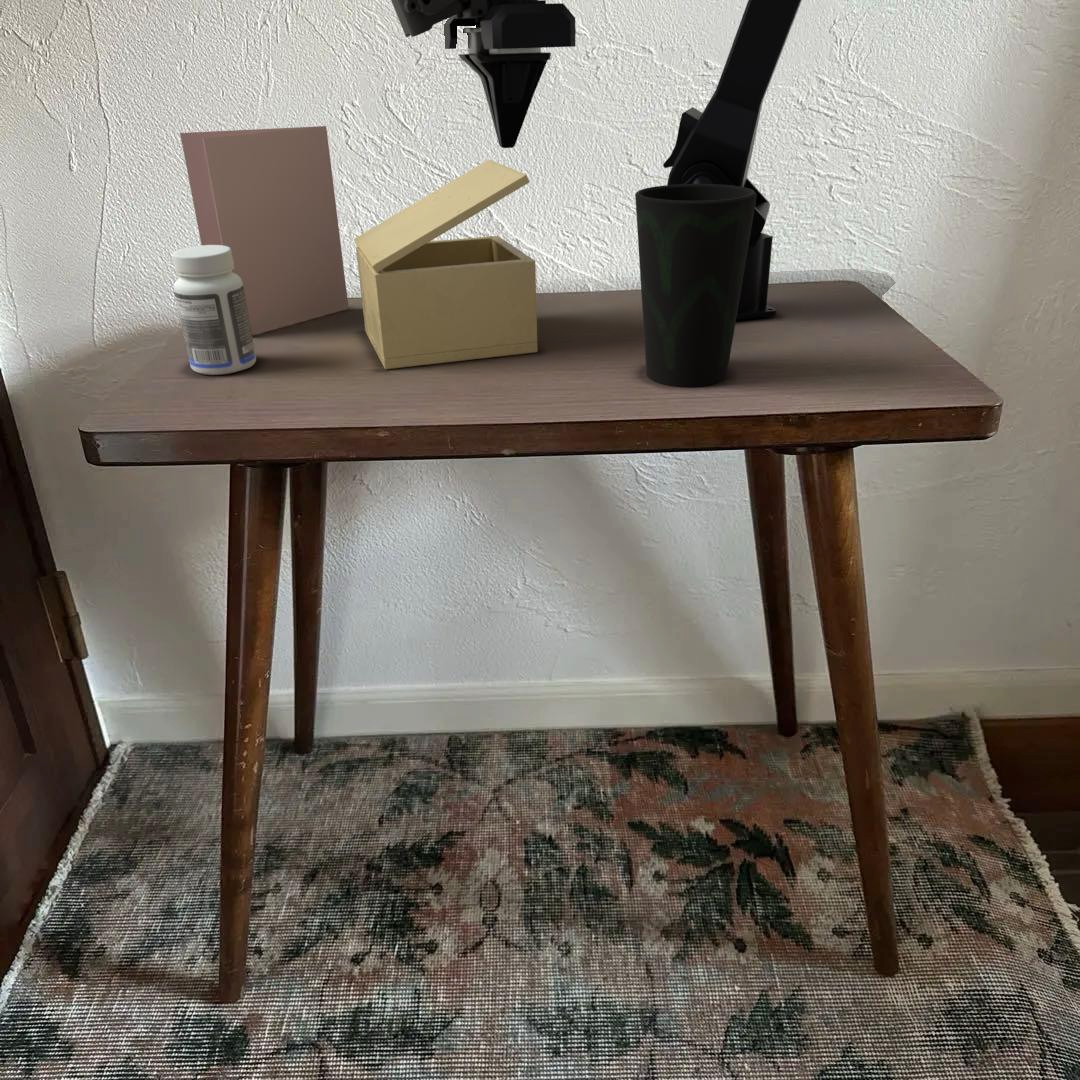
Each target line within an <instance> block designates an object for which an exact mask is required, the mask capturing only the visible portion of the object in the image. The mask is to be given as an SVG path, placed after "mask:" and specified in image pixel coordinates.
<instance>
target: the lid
mask: <svg viewBox="0 0 1080 1080" xmlns="http://www.w3.org/2000/svg"><path fill="white" fill-rule="evenodd" d="M529 179H530V178H529V177H528V175H527V174H526V173H524V172H521V171H518V170H516V169H514V168H511V167H508V166H506V165H504V164H502V163H499V162H496V161H494V160H491V159H486V160H485V161H483V162H481V163H480V164H478V165H476V166H475V167H473V168H471V169H470V170H468V171H465V172H464V173H463V174H461V175H459V176H458V177H456V178H454V179H452V180H450V181H449V182H448V183H446V184H444V185H443V186H441V187H439V188H437V189H436V190H434V191H432V192H431V193H429V194H427V195H426V196H424V197H422V198H420V199H419V200H417V201H415V202H414V203H412V204H410V205H409V206H407V207H405V208H403V209H402V210H400V211H399V212H397V213H395V214H393V215H392V216H390V217H388V218H386V219H385V220H383V221H382V222H380V223H377V224H376V225H375V226H373V227H371V228H369V229H368V230H366V231H365V232H363V233H361V234H359V235H357V237H354V238H353V241H354V243H355V245H356V247H358V248H359V249H360V250H361V252H362V253H363V255H364V256H365V258H366V259H367V260H368V262H369V263H370V265H371V266H372V268H373V269H374V270H375V272H376V273H377V272H379V271H381V270H382V269H384V268H386V267H387V266H389V265H391V264H393V263H394V262H396V261H398V260H399V259H401V258H403V257H404V256H406V255H408V254H409V253H411V252H413V251H414V250H416V249H418V248H420V247H421V246H423V245H425V244H426V243H428V242H430V241H434V239H436V238H438V237H440V236H441V235H443V234H445V233H446V232H448V231H450V230H451V229H453V228H455V227H457V226H458V225H460V224H462V223H463V222H466V221H467V220H469V219H470V218H472V217H474V216H475V215H477V214H479V213H480V212H483V211H484V210H485V209H487V208H489V207H490V206H493V205H494V204H496V203H497V202H499V201H501V200H502V199H504V198H505V197H508V196H509V195H511V194H513V193H514V192H516V191H518V190H519V189H521V188H522V187H524V186H526V185H528V184H530V180H529Z"/></svg>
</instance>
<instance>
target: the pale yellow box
mask: <svg viewBox="0 0 1080 1080" xmlns="http://www.w3.org/2000/svg"><path fill="white" fill-rule="evenodd" d="M355 249H356V250H355V252H356V261H357V269H358V279H359V287H360V295H361V296H360V297H361V306H362V312H363V313H362V314H363V322H364V330H365V334H366V335H367V337H368V339H369V341H370V343H371V345H372V347H373V349H374V351H375V353H376V355H377V356H378V359H379V360H380V362H381V364H382V366H383V368H384V370H393V369H401V368H410V367H419V366H427V365H428V366H429V365H436V364H437V365H438V364H444V363H454V362H462V361H463V362H464V361H471V360H480V359H488V358H497V357H499V358H500V357H507V356H516V355H525V354H532V353H533V354H534V353H538V351H539V350H538V318H537V317H538V313H537V312H538V311H537V310H538V309H537V276H536V274H537V273H536V260H535V259H534V258H532V257H530V255H527V254H526V253H525V252H523V251H522V250H520V249H519V248H517V247H516V246H514V245H513V244H511V243H510V242H508V241H507V240H505V239H504V238H502V237H501V236H499V235H490V236H476V237H467V238H454V239H441V240H439V239H438V240H431V241H430V242H428V243H426V244H425V245H423V246H421V247H420V248H418V249H416V250H414V251H413V252H411V253H409V254H408V255H406V256H404V257H403V258H401V259H399V260H398V261H396V262H394V263H393V264H391V265H389V266H387V267H386V268H384V269H382V270H381V271H379V272H377V273H376V272H375V270H374V269H373V268H372V266H371V265H370V263H369V262H368V260H367V259H366V258H365V256H364V255H363V253H362V252H361V250H360V249H359V248H358V246H355Z"/></svg>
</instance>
